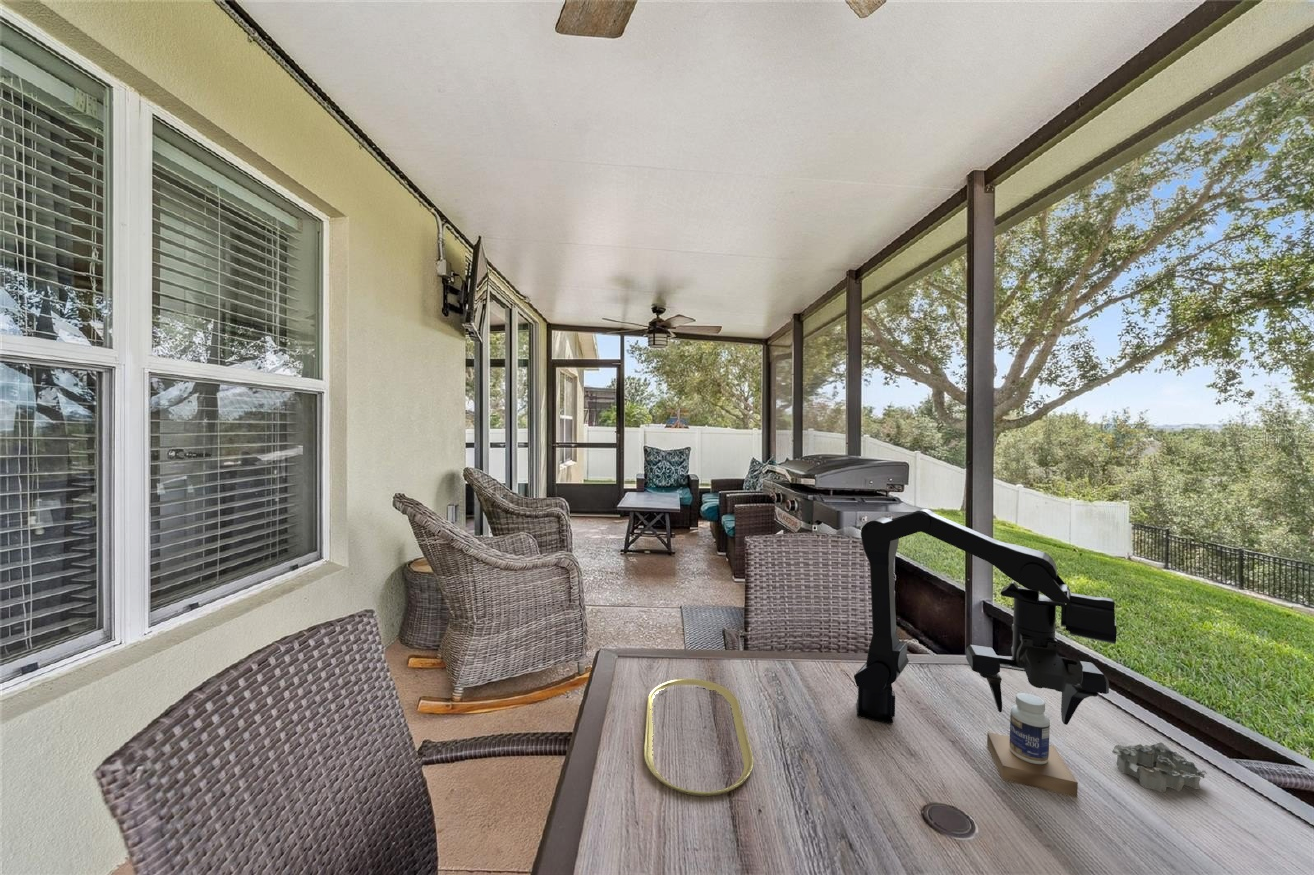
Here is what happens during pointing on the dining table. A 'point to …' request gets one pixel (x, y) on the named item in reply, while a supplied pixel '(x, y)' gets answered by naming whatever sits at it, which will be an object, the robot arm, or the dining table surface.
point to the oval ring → (738, 724)
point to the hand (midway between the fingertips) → (1031, 717)
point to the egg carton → (1158, 767)
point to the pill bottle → (1029, 729)
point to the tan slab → (1032, 768)
